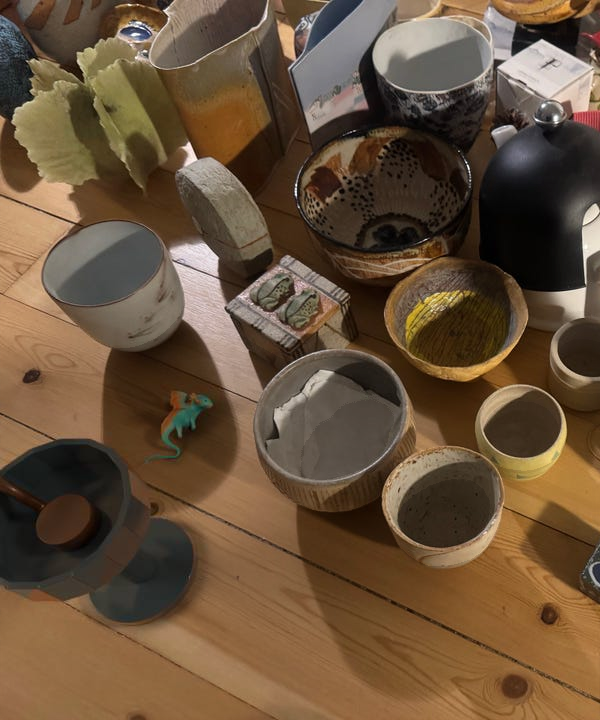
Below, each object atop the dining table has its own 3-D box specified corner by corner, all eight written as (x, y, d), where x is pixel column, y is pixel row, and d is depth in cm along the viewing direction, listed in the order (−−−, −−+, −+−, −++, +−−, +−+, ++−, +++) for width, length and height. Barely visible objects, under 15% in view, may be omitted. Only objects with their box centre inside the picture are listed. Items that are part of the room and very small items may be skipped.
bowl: (59, 571, 76) (-59, 509, 60) (167, 488, 80) (84, 410, 65) (120, 666, 70) (9, 625, 55) (232, 571, 75) (159, 509, 59)
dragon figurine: (215, 458, 81) (214, 388, 82) (144, 462, 78) (143, 390, 79) (212, 461, 87) (210, 396, 88) (145, 465, 84) (145, 398, 85)
